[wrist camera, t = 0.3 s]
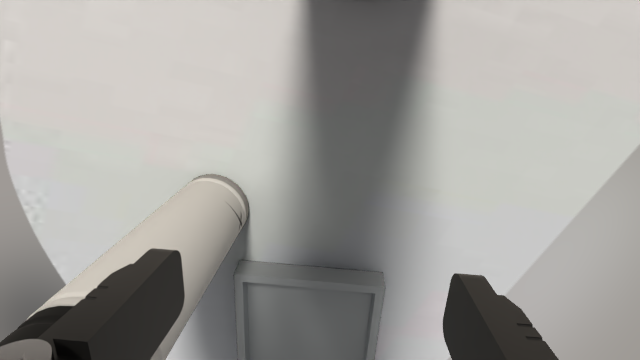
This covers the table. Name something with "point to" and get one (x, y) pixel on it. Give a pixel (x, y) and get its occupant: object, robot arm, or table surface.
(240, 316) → the tray
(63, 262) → the table surface
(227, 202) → the travel mug
